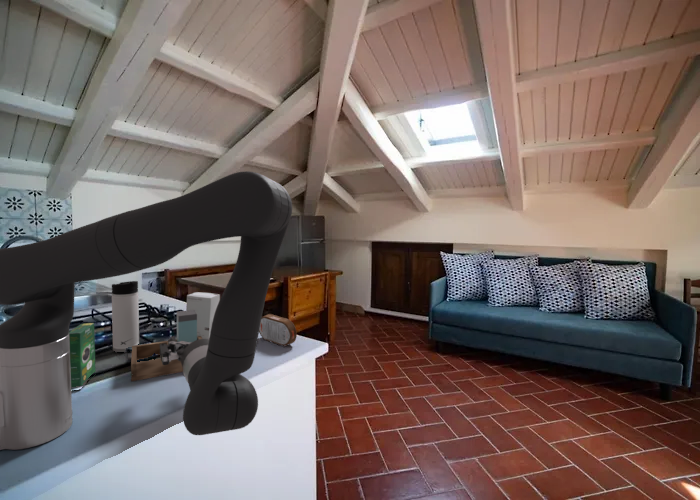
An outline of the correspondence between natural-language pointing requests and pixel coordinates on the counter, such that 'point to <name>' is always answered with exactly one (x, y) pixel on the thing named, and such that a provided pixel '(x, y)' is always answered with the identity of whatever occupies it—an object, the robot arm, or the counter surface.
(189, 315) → the teal square bottle
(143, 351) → the caddy
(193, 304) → the skincare box
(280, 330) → the tin
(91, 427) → the counter surface
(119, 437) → the counter surface
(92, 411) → the counter surface
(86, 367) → the coffee box
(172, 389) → the counter surface
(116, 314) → the travel mug
